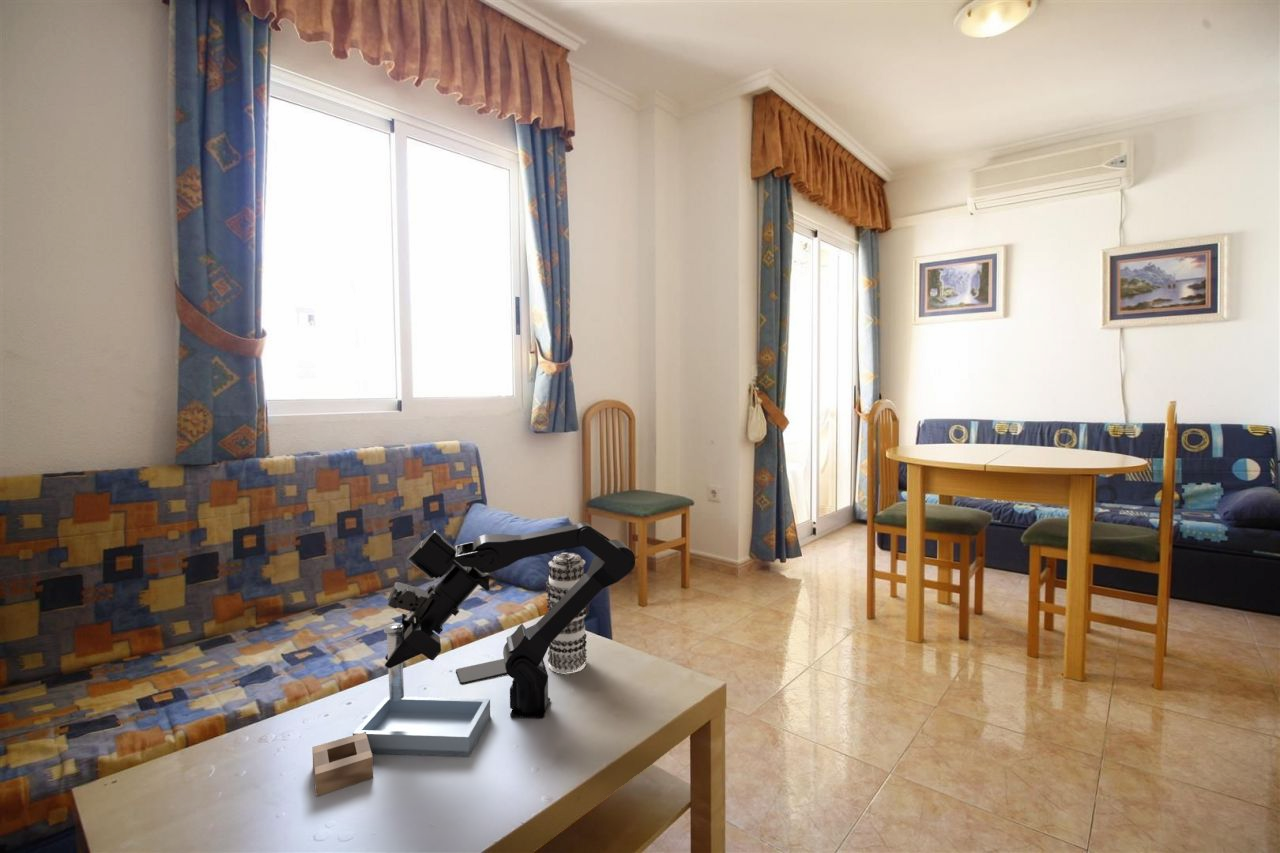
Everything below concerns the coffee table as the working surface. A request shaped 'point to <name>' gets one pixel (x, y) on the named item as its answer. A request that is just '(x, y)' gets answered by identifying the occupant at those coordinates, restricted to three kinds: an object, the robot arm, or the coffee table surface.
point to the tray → (426, 726)
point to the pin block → (342, 763)
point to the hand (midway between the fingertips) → (387, 663)
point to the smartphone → (481, 671)
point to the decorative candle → (571, 641)
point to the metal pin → (397, 671)
